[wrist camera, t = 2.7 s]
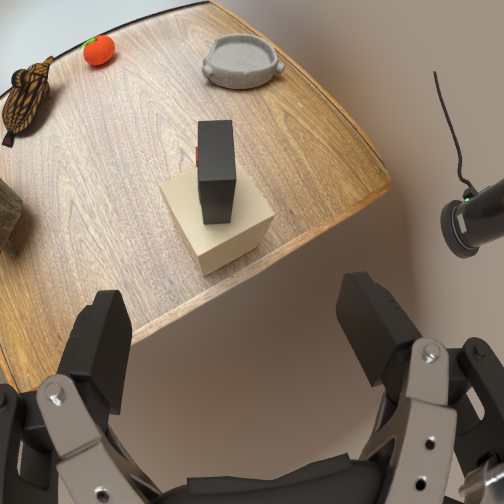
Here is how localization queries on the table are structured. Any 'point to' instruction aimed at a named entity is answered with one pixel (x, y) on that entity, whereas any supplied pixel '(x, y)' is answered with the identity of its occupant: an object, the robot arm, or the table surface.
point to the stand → (217, 235)
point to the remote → (216, 170)
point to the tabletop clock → (8, 215)
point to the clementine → (98, 50)
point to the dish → (241, 61)
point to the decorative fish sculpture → (25, 99)
